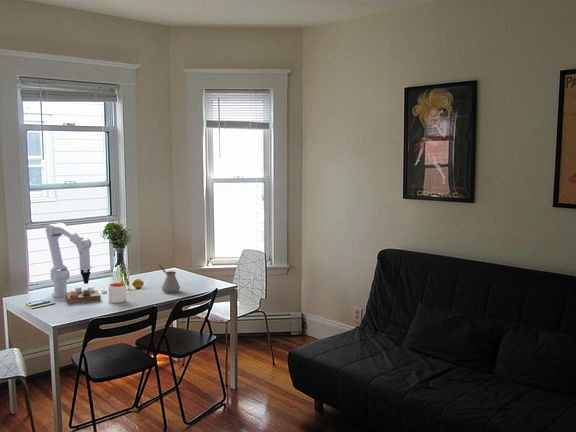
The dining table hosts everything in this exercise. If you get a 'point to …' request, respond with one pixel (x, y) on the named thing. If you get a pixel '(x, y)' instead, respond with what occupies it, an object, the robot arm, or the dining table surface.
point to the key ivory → (91, 289)
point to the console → (83, 298)
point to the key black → (86, 293)
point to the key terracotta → (73, 294)
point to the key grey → (78, 290)
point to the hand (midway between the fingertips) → (86, 282)
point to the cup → (117, 292)
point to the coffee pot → (170, 282)
